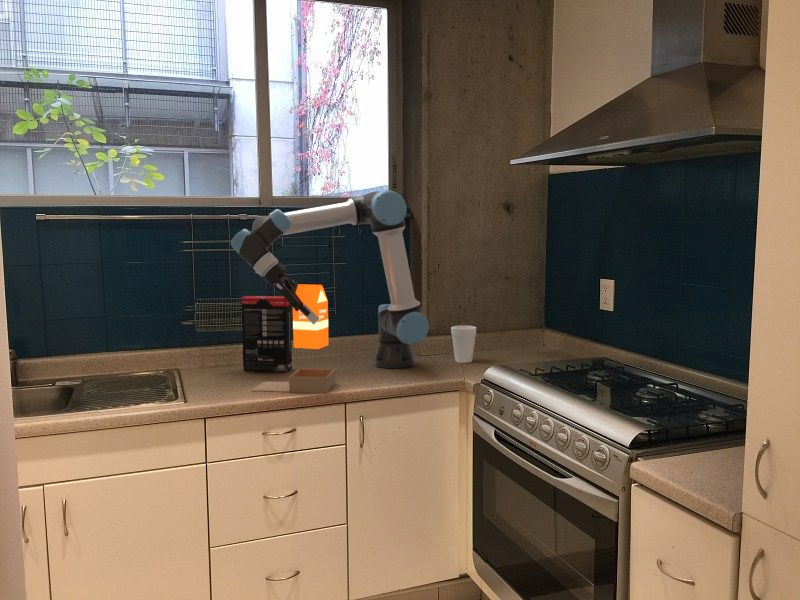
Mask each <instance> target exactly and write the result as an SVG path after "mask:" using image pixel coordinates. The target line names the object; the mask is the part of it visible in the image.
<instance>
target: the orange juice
mask: <svg viewBox="0 0 800 600" xmlns="http://www.w3.org/2000/svg"><path fill="white" fill-rule="evenodd" d="M297 284H298V287H297V290H296V294H297V295H298V297H299V298H300V299H301V301H302V302H303V304H304V305H305V304H306V305H307V306H308V307H309V308H310V309H311V310H312V311H313V312H314V313H315V314H316V315H317V316H318V317H319V318H320V319H319V320H318V321H317V322H316V323H315V324H314V325H313V324H312V323H311V322H310V321H309V320H308V319H307V318H306V317H305V316H304V315H303V314H302V313H301V312H300V311H299V310H300V309H299V310H298V311H295V309H294V308H293V307H292V330H293V331H292V332H293V335H292V336H293V348H295V349H308V350H311V349H312V350H320V349H322V348H325V347H328V346H329V309H328V308H329V307H328V306H329V305H328V304H329V302H328V301H329V300H328V298H327V295H326V292H325V289H324V287H323V284H303V283H302V284H299V283H297ZM304 305H303V306H304Z"/></svg>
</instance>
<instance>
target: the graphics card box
mask: <svg viewBox="0 0 800 600" xmlns="http://www.w3.org/2000/svg"><path fill="white" fill-rule="evenodd" d="M240 301H241V302H240V303H241V307H240V308H241V329H242V331H241V333H242V364H243V365H242V366H243V367H242V370H243V371H244V372H245V371H247V372H249V371H250V372H252V371H253V372H279V373H281V372H283V373H287V372H289V371H290V370H291V369H293V353H292V352H293V347H292V346H293V345H292V305H291V304H290V303H289V302H288V301H287V300H286V299H285V297H284V296H283V295H281V296H279V295H278V296H277V295H275V296H273V295H271V296H270V295H269V296H268V295H266V296H265V295H261V296H260V295H256V296H255V295H246V296H245V295H244V296H241V297H240Z"/></svg>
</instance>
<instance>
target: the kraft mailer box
mask: <svg viewBox="0 0 800 600" xmlns="http://www.w3.org/2000/svg"><path fill="white" fill-rule="evenodd" d="M336 383H337V381H336V369H335V368H334V369H331V368H298V369H297V370H296V371H294V372H293V373H292V374H291V375H289V376H288V381H263V382H261V383H260V384H259V385H257V386H256V387H254V388H253V389H251V392H259V391H273V392H272V393H311V394H312V393H313V394H314V393H315V394H316V393H317V394H320V393H322V394H327V393H329V392H330V390H332V389H333V388H334V386H335V385H336Z"/></svg>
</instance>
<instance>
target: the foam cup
mask: <svg viewBox="0 0 800 600" xmlns="http://www.w3.org/2000/svg"><path fill="white" fill-rule="evenodd" d="M450 333H451V338H452V339H451V340H452V345H453V354H454V360H455V362H456V363H461V364H462V363H464V364H467V363H472V362H473V357H474V351H475V350H474V349H475V342H476V335H477V327H476V326H474V325H455V326H454V325H453V326H451V327H450Z"/></svg>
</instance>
